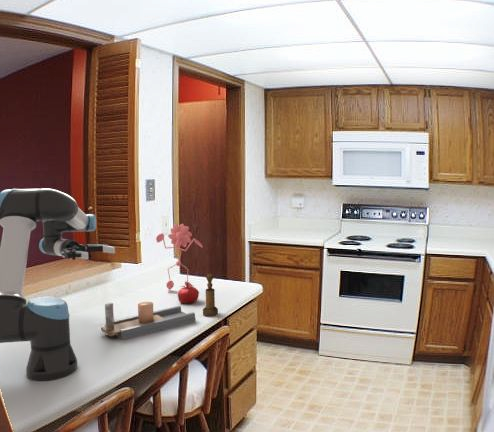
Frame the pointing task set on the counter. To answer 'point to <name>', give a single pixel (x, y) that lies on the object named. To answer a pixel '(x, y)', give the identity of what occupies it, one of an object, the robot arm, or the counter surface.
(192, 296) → the pomegranate
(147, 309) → the canister
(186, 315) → the track
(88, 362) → the counter surface
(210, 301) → the bronze statuette
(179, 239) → the pink branching stem figurine
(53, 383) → the counter surface
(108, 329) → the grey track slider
